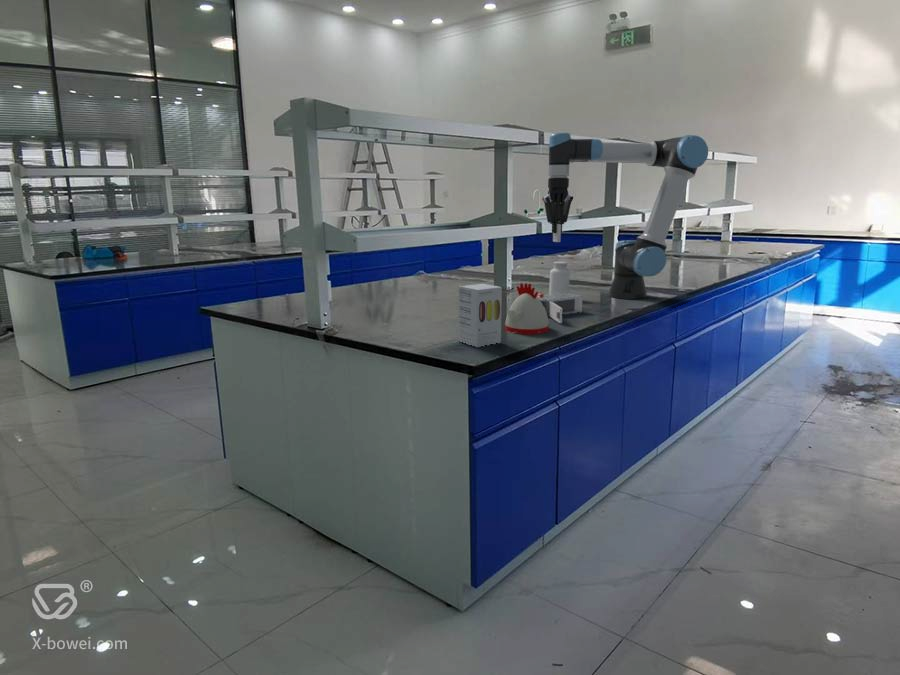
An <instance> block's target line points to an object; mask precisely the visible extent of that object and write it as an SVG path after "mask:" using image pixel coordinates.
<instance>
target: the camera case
mask: <svg viewBox="0 0 900 675" xmlns="http://www.w3.org/2000/svg"><path fill="white" fill-rule="evenodd" d="M537 298H538V299H539V300H540V301H541V303H542V304H543V306H544V307H545V310H546V314H547V317H548V318H550V317H549V301H553V303H555V304H556V305H558V306H559V307H561V308H562V314H564V315H570V313H572V314H578V313H577V312H579V313H583V298H584V297H583V295H581V294H575V293H570V292H569V293H567V292H561V293H552V294H549V293H545V294H544V293H538V295H537Z"/></svg>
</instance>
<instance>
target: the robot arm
mask: <svg viewBox="0 0 900 675" xmlns="http://www.w3.org/2000/svg"><path fill="white" fill-rule="evenodd" d="M548 141H549V142H548V177H549V178H548V179H547V181H548V182H547V187H548V191H547V194H546V195H545V196H543V197H541V198H542V201H543V203H544V207H545V208H544V209H545V215H546V220H547V223H548V224H550V225H551V233H552V242H554V243H561V235H562V233H563V225H564V224H565V223H567V222H568V218H569V214H570V208H571V205H572V204H571V203H572V202H573V200H574V196H573V195H572V196H571V195H570V194H569V191H568V190H569V189H568V188H569V186H570V178H569V177H570V163H614V164H618V163H619V164H620V163H622V164H645V165H646V166H648V167H659V168H663V170H664V172H665V175H664V177H663V180H662V182H661V185H660V188H659V191H658V193H657V196H656V199H655V201H654V203H653V207H652V209H651V211H650V214H649V217H648V219H647V222H646V224H645V227H644V230H643V232H642V234H640V235H639V236H637V237H636V239H629V240H619V241H617V242H616V245H615V249H614V251H615V257H614V270H613V271H614V272H613V273H614V274H613V279H612V283H611V286H610V288H609V291H608V296H609V297H611V298H614V299H621V300H622V299H623V300H638V299H639V300H640V299H646V298H647V297H648V296H647V295H648V294H647V293H648V292H647V289H646V283H645V280H644V277H648V278H649V277H654V276H656V275H658V274H660V273H661V272H662V271H663V269H664V268H665V266H666V264H667V256H666V250H667V247H668V245H667V243H666V239H667V237H668V233H669V231H670V228H671V225H672V223H673V221H674V218H675V215H676V212H677V210H678V207H679V204H680V203H681V199H682V198H683V194H684V192H685V189H686V186H687V184H688V182H689V180H691V179H692V178H694V177H695V176H696V173H697V170H698V168H700V167H702V166H703V165H704V164H705V163H706V161H707V160H708V157H709V148H708V144H707V142H706V140H705V139H703V138H702V137H701V136H699V135H692V134H686V135H684V136H679V137H671V138H668V139H661V140H650V141H649V142H648V143H647V142H645V143H644V142H643V143H641V142H608V141H607V142H605V141H604V142H603V141H602V140H601V139H597V138H576V139H575V138H572V137H571V133H569V132H554V133H552V134H550V136H549V140H548Z"/></svg>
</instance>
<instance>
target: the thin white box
mask: <svg viewBox="0 0 900 675" xmlns="http://www.w3.org/2000/svg"><path fill="white" fill-rule="evenodd" d="M548 318H552V319H553V320H554V321H555V322H557V323H559V324H563V315H562V308H561V307H559V306H558V305H556V304H555V303H553V301H549V317H548Z"/></svg>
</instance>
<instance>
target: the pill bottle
mask: <svg viewBox="0 0 900 675" xmlns="http://www.w3.org/2000/svg"><path fill="white" fill-rule="evenodd" d="M570 278H571V272H570V269H568V262H566V261H554V262H553V268H552V269H550V272H549V287H548V288H549V289H548V291H549V292H548V294H552V293H561V292H567V293H570Z"/></svg>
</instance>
